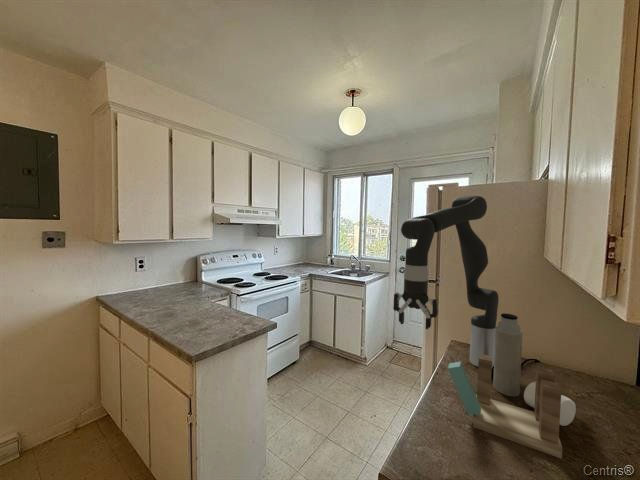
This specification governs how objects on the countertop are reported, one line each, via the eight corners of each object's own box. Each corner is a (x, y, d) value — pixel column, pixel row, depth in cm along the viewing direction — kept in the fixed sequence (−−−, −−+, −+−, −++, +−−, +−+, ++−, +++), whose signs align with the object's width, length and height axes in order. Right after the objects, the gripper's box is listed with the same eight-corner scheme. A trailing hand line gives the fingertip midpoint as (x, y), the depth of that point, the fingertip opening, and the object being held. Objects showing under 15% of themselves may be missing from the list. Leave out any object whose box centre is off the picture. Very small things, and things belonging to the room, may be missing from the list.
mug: (556, 428, 79) (558, 402, 78) (522, 406, 88) (524, 383, 88) (584, 421, 82) (586, 396, 82) (549, 400, 92) (550, 378, 91)
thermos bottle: (519, 388, 98) (523, 314, 97) (519, 399, 92) (523, 320, 91) (493, 380, 103) (497, 310, 102) (492, 390, 97) (495, 315, 95)
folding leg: (467, 408, 84) (447, 363, 86) (481, 407, 81) (460, 361, 84) (466, 415, 80) (446, 368, 83) (481, 414, 78) (459, 366, 81)
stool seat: (474, 402, 90) (476, 352, 89) (551, 427, 79) (554, 369, 78) (472, 426, 79) (475, 369, 78) (561, 458, 68) (565, 392, 68)
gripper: (440, 278, 88) (438, 327, 89) (397, 274, 96) (396, 318, 96) (437, 282, 82) (435, 334, 83) (391, 277, 89) (390, 325, 90)
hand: (414, 325), depth 89 cm, fingers open, 7 cm apart
